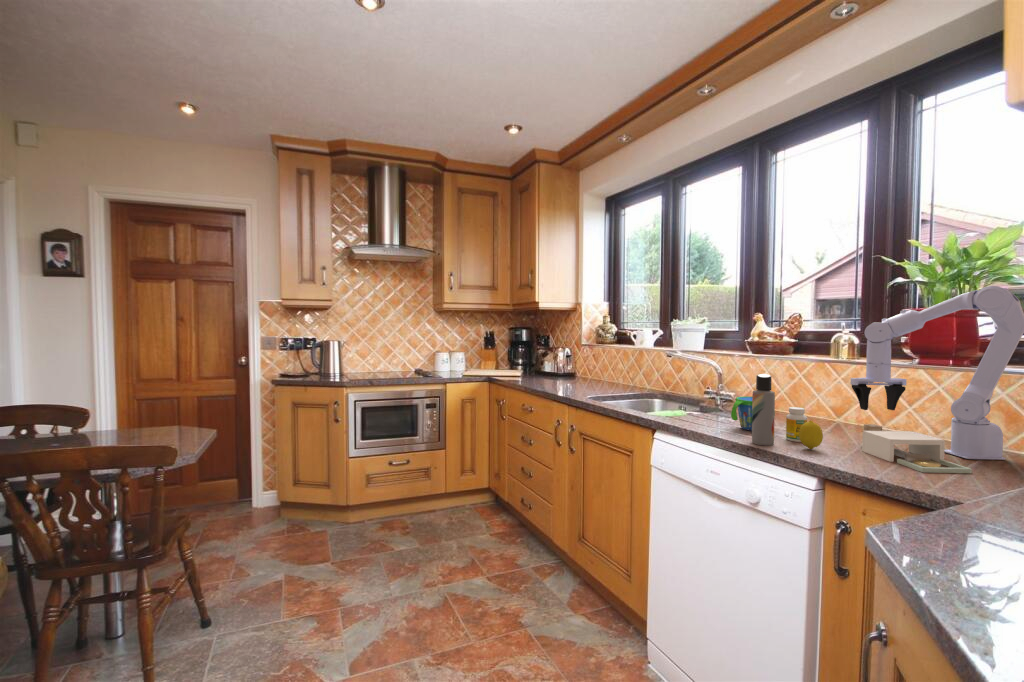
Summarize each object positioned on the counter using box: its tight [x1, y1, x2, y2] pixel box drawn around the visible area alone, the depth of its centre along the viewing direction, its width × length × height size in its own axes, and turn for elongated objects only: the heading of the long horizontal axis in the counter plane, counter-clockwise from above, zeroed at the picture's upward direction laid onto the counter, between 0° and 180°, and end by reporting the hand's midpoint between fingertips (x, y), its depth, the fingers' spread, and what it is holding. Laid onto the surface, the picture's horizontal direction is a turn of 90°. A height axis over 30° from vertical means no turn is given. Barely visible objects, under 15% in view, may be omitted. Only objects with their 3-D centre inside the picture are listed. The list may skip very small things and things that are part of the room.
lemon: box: [799, 420, 824, 450], centre depth 130 cm, size 6×6×8 cm
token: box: [913, 459, 942, 467], centre depth 115 cm, size 5×5×1 cm
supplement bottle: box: [785, 406, 808, 443], centre depth 141 cm, size 5×5×10 cm
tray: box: [896, 458, 973, 474], centre depth 113 cm, size 11×8×1 cm
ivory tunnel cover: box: [861, 430, 946, 463], centre depth 123 cm, size 13×10×6 cm
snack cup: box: [730, 396, 753, 432], centre depth 156 cm, size 16×10×10 cm
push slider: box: [863, 423, 931, 463], centre depth 126 cm, size 18×6×6 cm, turn 177°
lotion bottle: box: [751, 373, 776, 447], centre depth 136 cm, size 6×6×20 cm
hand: (877, 409), depth 139 cm, fingers open, 7 cm apart
